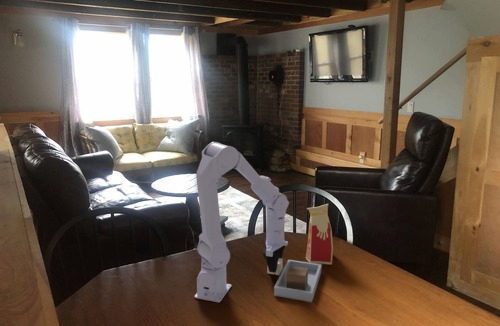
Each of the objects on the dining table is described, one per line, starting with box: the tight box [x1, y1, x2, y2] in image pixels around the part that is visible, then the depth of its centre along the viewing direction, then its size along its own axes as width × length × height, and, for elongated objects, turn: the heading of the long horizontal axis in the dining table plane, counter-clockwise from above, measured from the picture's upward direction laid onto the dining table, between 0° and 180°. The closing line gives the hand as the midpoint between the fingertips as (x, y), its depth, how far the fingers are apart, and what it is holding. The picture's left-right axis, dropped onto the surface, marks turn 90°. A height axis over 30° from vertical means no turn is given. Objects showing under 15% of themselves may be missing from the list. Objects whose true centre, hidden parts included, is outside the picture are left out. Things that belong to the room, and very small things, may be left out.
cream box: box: [266, 257, 283, 276], centre depth 126 cm, size 4×4×4 cm
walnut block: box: [287, 266, 308, 291], centre depth 116 cm, size 4×6×5 cm
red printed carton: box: [305, 203, 334, 266], centre depth 133 cm, size 9×9×20 cm
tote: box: [273, 259, 323, 303], centre depth 119 cm, size 18×11×3 cm, turn 161°
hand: (274, 267), depth 126 cm, fingers open, 5 cm apart
